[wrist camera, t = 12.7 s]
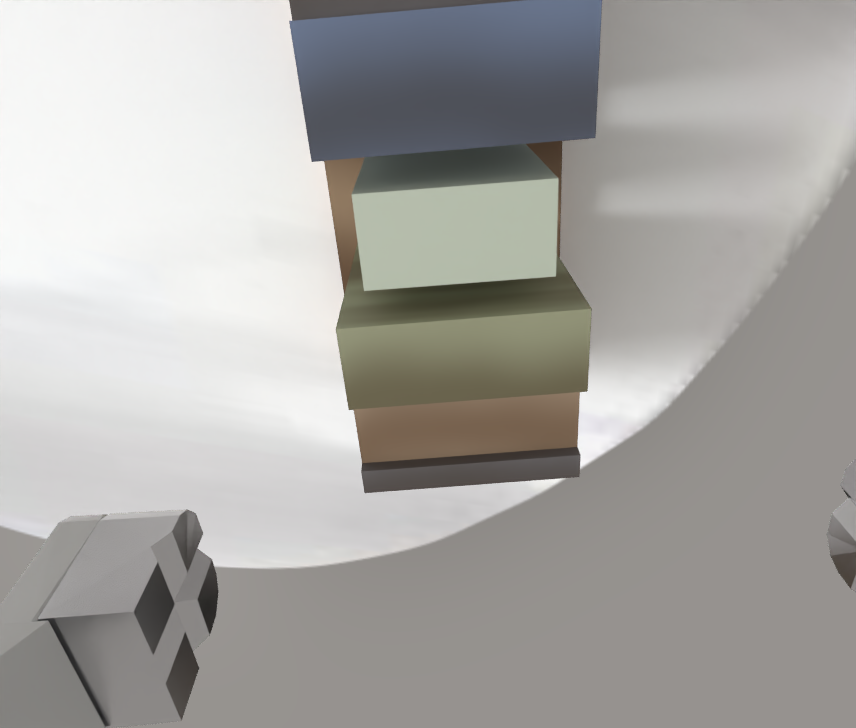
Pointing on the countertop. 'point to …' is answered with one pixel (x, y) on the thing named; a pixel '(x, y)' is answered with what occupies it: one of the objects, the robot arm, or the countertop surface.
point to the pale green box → (455, 217)
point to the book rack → (469, 302)
